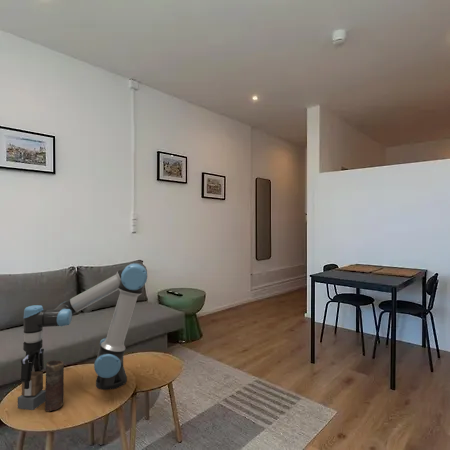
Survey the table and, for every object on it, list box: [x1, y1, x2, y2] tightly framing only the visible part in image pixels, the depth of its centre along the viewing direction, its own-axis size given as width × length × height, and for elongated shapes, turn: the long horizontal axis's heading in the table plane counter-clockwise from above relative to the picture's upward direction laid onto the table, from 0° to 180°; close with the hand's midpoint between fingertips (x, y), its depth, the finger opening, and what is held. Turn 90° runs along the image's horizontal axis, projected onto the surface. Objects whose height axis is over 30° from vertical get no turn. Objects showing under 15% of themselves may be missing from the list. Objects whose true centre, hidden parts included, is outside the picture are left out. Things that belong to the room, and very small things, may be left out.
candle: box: [44, 359, 65, 412], centre depth 144 cm, size 8×7×20 cm
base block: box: [17, 389, 46, 411], centre depth 147 cm, size 8×8×5 cm
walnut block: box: [21, 370, 44, 396], centre depth 147 cm, size 6×6×8 cm
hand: (32, 391), depth 147 cm, fingers closed on walnut block, 6 cm apart
